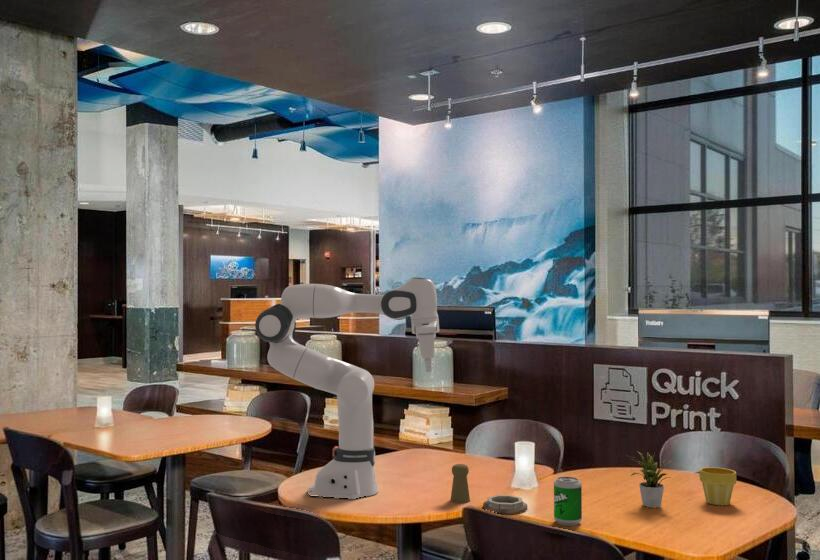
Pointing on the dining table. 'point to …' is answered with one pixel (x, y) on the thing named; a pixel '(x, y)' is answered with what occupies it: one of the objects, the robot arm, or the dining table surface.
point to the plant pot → (717, 484)
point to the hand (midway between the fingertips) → (428, 370)
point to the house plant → (651, 482)
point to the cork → (460, 484)
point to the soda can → (567, 501)
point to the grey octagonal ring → (505, 504)
